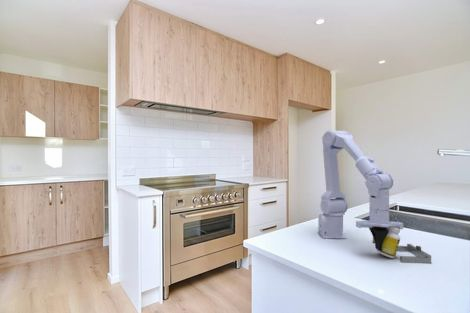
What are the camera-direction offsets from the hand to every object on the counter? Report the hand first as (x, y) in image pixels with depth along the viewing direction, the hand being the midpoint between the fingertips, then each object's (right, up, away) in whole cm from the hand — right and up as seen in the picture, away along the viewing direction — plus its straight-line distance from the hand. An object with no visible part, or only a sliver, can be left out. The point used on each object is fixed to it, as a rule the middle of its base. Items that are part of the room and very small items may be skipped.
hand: (379, 249), depth 81 cm
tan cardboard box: (+9, -2, +12) cm, 15 cm away
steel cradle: (+9, -2, +1) cm, 9 cm away
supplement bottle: (+2, -2, 0) cm, 3 cm away
